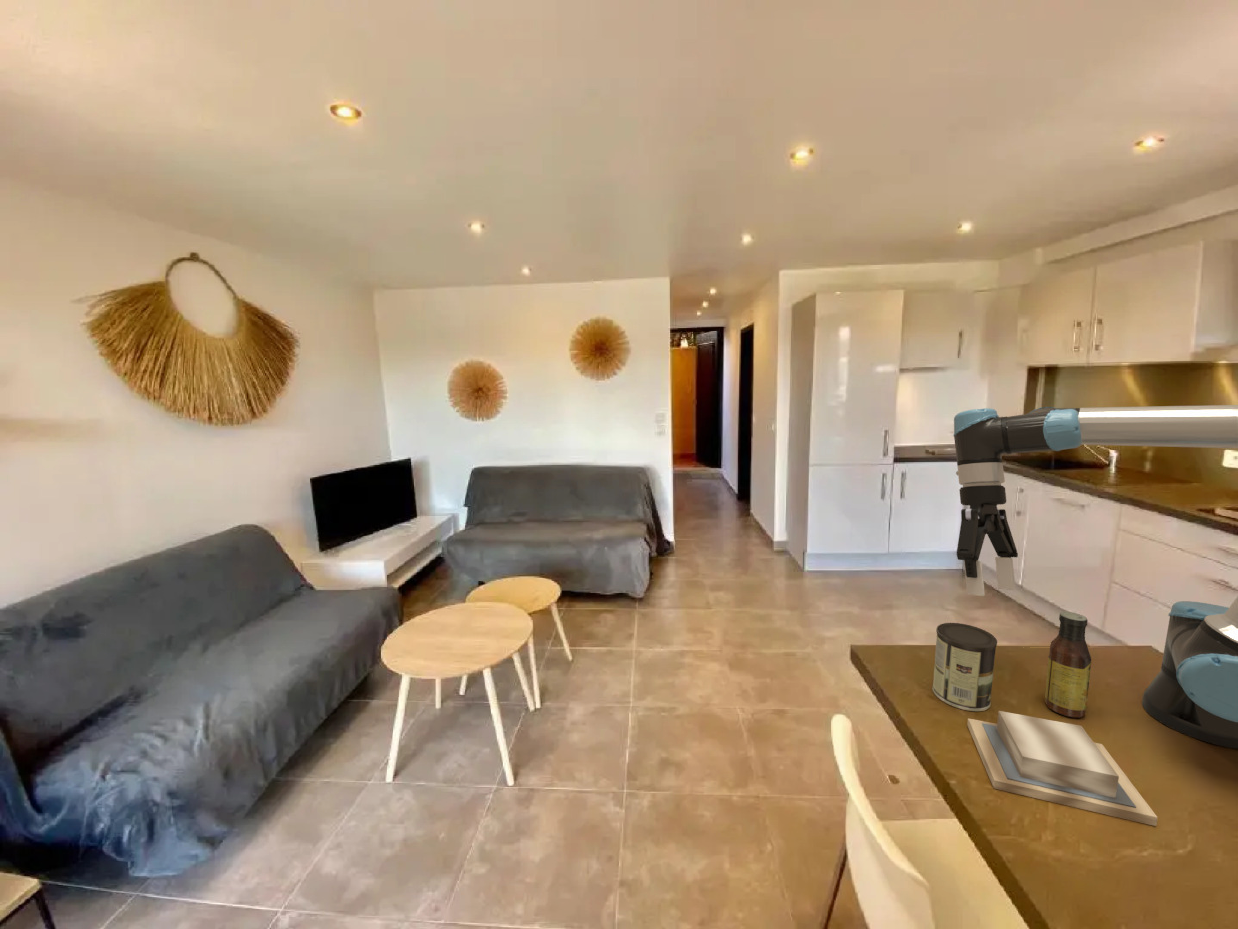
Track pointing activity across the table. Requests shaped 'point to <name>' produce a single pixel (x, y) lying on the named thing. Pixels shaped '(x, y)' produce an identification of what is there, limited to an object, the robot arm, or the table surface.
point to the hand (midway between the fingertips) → (992, 592)
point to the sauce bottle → (1069, 668)
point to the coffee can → (964, 666)
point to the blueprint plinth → (1057, 795)
